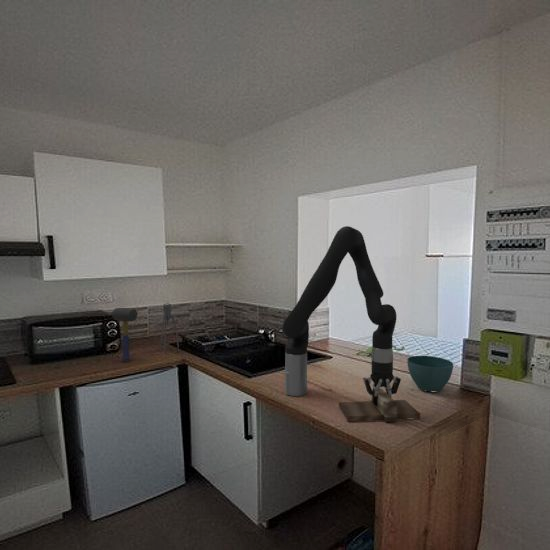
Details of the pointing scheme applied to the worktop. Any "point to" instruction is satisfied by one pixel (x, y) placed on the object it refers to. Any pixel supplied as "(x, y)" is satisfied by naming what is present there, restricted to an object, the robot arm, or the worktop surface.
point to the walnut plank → (375, 411)
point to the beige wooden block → (386, 406)
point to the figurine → (369, 350)
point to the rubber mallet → (125, 327)
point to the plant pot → (430, 372)
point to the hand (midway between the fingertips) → (381, 404)
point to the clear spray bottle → (166, 317)
